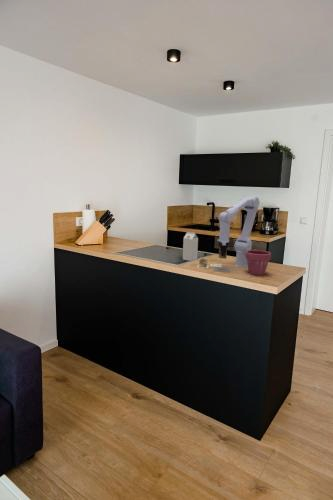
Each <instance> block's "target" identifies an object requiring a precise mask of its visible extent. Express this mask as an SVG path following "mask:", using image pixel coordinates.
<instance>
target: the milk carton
mask: <svg viewBox="0 0 333 500" xmlns="http://www.w3.org/2000/svg"><path fill="white" fill-rule="evenodd" d="M182 243H183V244H182V260H185V261H189V262H192V261H193V262H194V261H196V260H198V248H199V247H198V246H199V237H198V236H197V234H196V232H192V231H186V233H185V235H184V236H183V242H182Z"/></svg>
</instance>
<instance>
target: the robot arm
mask: <svg viewBox="0 0 333 500" xmlns="http://www.w3.org/2000/svg"><path fill="white" fill-rule="evenodd" d="M259 207H260V198H259V197H257V196H245V195H244V196H243V197H241V198H240V200H239V202H238V203H237V204H236V205H231V206H230V207H229V208H228V209H226V210H225V211H223V212H220V213H219V215H218V221H219V238H218V239H217V242H219V244H218V247H219V249H221V256H225V255H226V250H228V248H229V246H230V245H229V242H230V231H231V222H232V221H233V219H234V218H235V217H236V216H237V215H238V214H239V213H240V211H241V210H242V209H244V210H245V211H246V212H247V213H246V217H245V221H244V224H243V228H242V231H241V235H240V236H239V237H237V238H236V241H235V243H234V245H233V247H234V248H233V249H234V250H235V252H236V257H235V258H236V259H235V263H234V265H235V267H241V268H243V267H244V268H248V264H247V258H246V257H245V255H246V251H248V250H252V246H253V241H252V240H251V238H250V236H251V233H252V229H253V225H254V223H255V218H256V217H257V216H256V215H257V212H258V211H259Z"/></svg>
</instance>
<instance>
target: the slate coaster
mask: <svg viewBox="0 0 333 500" xmlns="http://www.w3.org/2000/svg"><path fill="white" fill-rule="evenodd" d="M214 271H215V272H224V273H226V272H227V273H230V272H231V268H230V267H214Z"/></svg>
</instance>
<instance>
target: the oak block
mask: <svg viewBox="0 0 333 500" xmlns="http://www.w3.org/2000/svg"><path fill="white" fill-rule="evenodd" d="M198 260H199V263H198V265H199V267H198V268H200V267H207V265H208V257H199V259H198Z"/></svg>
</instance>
